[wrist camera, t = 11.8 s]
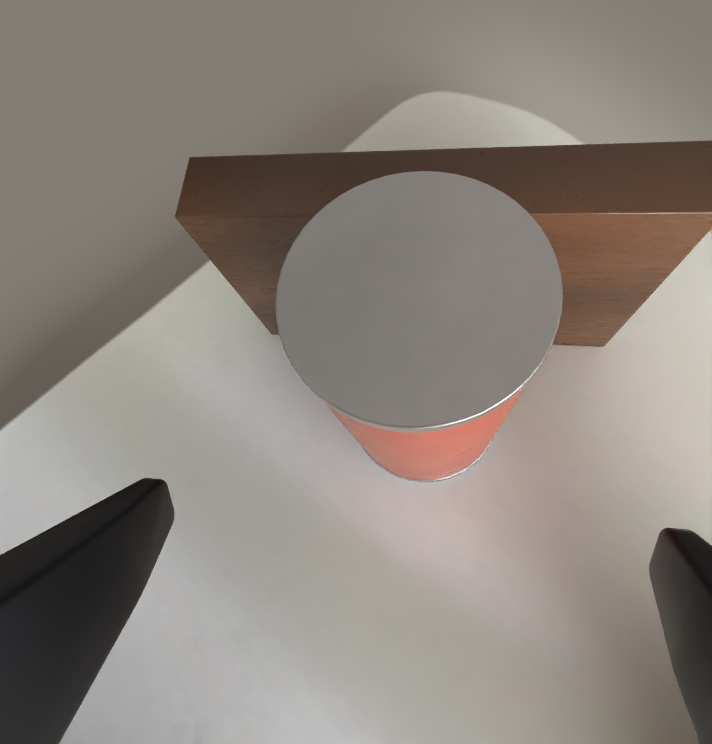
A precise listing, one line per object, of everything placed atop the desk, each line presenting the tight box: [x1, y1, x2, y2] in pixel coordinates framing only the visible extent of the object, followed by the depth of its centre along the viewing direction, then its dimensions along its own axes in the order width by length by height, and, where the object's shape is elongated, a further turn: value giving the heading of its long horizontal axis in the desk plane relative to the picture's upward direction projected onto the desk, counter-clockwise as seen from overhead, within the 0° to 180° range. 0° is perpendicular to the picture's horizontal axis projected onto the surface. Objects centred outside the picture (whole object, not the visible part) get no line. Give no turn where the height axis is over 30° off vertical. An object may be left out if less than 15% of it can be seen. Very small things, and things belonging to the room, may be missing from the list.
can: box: [276, 171, 563, 482], centre depth 17 cm, size 7×7×12 cm
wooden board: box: [175, 141, 712, 346], centre depth 19 cm, size 2×16×10 cm, turn 84°
